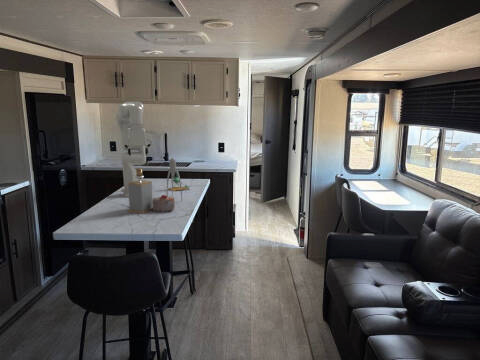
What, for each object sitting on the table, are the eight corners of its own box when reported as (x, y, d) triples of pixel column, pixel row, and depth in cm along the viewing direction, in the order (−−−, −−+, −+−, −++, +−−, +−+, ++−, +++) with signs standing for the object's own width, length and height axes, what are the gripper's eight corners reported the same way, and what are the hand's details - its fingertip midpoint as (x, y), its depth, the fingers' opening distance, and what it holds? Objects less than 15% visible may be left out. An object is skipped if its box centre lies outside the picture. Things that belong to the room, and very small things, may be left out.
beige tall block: (127, 211, 223) (125, 183, 219) (140, 206, 234) (138, 179, 230) (143, 213, 218) (141, 184, 215) (155, 208, 229) (153, 181, 225)
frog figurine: (187, 191, 275) (184, 172, 272) (165, 193, 278) (162, 174, 275) (191, 188, 284) (188, 170, 281) (169, 190, 287) (167, 172, 285)
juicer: (179, 203, 242) (178, 159, 236) (166, 202, 244) (165, 158, 238) (184, 199, 252) (183, 156, 246) (172, 198, 254) (171, 156, 248)
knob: (132, 208, 224) (129, 169, 219) (140, 205, 231) (138, 167, 226) (142, 210, 221) (140, 170, 216) (150, 207, 228) (148, 168, 223)
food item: (175, 208, 230) (174, 193, 228) (175, 211, 223) (174, 196, 221) (153, 209, 228) (152, 194, 226) (152, 212, 221) (151, 197, 219)
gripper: (121, 127, 209) (123, 156, 213) (152, 127, 215) (153, 155, 219) (121, 126, 216) (123, 154, 220) (150, 126, 222) (151, 153, 226)
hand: (138, 155), depth 219 cm, fingers open, 9 cm apart
